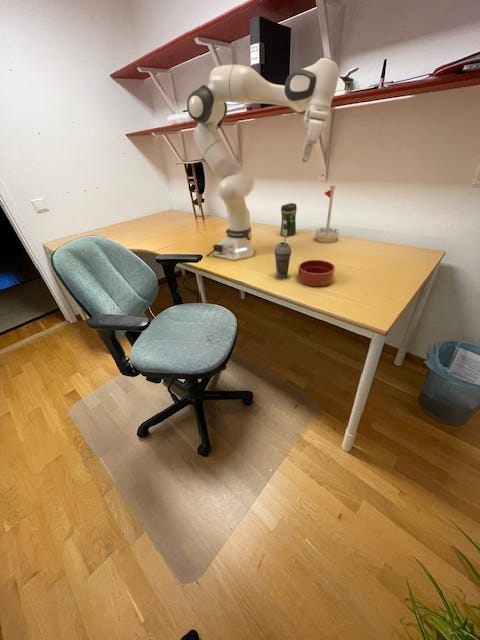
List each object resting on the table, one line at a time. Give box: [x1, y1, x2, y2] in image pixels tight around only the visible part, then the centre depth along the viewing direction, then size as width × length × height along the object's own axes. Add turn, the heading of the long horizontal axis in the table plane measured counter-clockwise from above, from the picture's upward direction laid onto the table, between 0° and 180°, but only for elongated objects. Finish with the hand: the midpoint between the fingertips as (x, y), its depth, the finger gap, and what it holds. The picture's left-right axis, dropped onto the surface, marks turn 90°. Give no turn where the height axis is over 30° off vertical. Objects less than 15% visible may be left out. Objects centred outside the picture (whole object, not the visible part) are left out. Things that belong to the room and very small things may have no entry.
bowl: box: [297, 259, 336, 287], centre depth 109 cm, size 15×15×6 cm
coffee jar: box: [280, 202, 298, 237], centre depth 160 cm, size 10×8×19 cm
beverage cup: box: [273, 232, 292, 280], centre depth 110 cm, size 7×7×20 cm
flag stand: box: [315, 183, 340, 244], centre depth 144 cm, size 13×13×30 cm
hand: (305, 161), depth 102 cm, fingers open, 8 cm apart
